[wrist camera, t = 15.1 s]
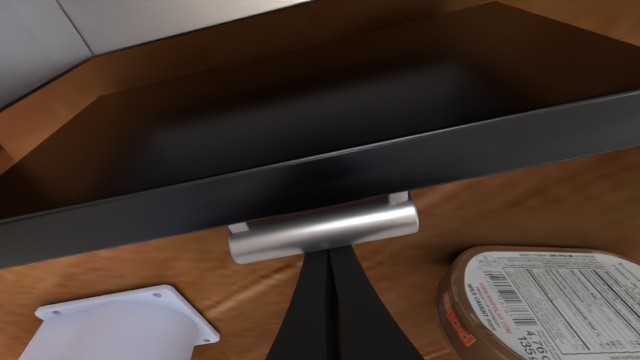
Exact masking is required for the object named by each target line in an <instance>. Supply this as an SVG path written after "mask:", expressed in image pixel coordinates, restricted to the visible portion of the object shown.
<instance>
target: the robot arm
mask: <svg viewBox="0 0 640 360" xmlns="http://www.w3.org/2000/svg"><path fill="white" fill-rule="evenodd" d="M35 315H36V316H37V317H39V318H41V319H42V320H44V321H43V323H42V324H41V326H40V327H39V329H38V331H37V332H36V334H35V335H34V337H33V338H32V340H31V341H30V343H29V344H28V346H27V347H26V349H25V350H24V352H23V353H22V355H21V356H20V358H19V359H18V360H191V356H192V352H193V348H194V346H195V345H201V344H207V343H214V342H217V341H219V338H220V335H219V333H218V332H217V331H216V330H215V329H214V328H213V327H212V326H211V325H210V324H209V323H208V322H207V321H206V320H205V319H204V318H203V317H202V316H201V315H200V314H199V313H198V312H197V311H196V310H195V309H194V308H193V307H192V306H191V305H190V304H189V303H188V302H187V301H186V300H185V299H184V298H183V297H182V296H181V295H180V294H179V293H178V292H177V291H176V290H175V289H174V288H173V287H172V286H170V285H159V286H153V287H147V288H142V289H136V290H130V291H125V292H119V293H114V294H108V295H102V296H97V297H91V298H86V299H80V300H74V301H69V302H63V303H58V304H52V305H46V306H41V307H39V308H38V309H37V310H36V312H35ZM342 344H343V347H342ZM343 356H344V357H343ZM265 360H425V359H424V358H423V357H422V355H421V354H420V353H419V352H418V350H417V349H416V348H415V346H414V345H413V344H412V343H411V341H410V340H409V339H408V338H407V336H406V335H405V334H404V332H403V331H402V330H401V328H400V327H399V325H398V324H397V323H396V321H395V320H394V319H393V317H392V316H391V314H390V313H389V311H388V310H387V308H386V307H385V305H384V304H383V302H382V301H381V299H380V298H379V296H378V295H377V293H376V291H375V290H374V288H373V286H372V285H371V283H370V281H369V280H368V278H367V276H366V274H365V272H364V270H363V269H362V267H361V265H360V263H359V261H358V259H357V257H356V255H355V253H354V250H353V248H352V246H351V245H346V246H341V247H335V248H330V249H324V250H319V251H313V252H308V253H305V257H304V261H303V265H302V268H301V272H300V275H299V278H298V282H297V285H296V288H295V291H294V293H293V296H292V299H291V302H290V305H289V307H288V310H287V312H286V315H285V317H284V320H283V322H282V325H281V327H280V329H279V331H278V334H277V336H276V338H275V340H274V342H273V344H272V346H271V348H270V351H269V353H268V355H267V357H266V359H265Z"/></svg>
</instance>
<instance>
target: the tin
mask: <svg viewBox="0 0 640 360" xmlns="http://www.w3.org/2000/svg"><path fill="white" fill-rule="evenodd" d="M434 308H435V314H436V319H437V322H438V325H439V328H440V330H441V333H442V335H443V337H444V339H445V340H446V342H447V344H448V346H449V347H450V349H451V350H452V352H453V353H454V355H455V356H456V357H457V359H458V360H640V263H639V262H637V261H634V260H632V259H629V258H627V257H624V256H621V255H618V254H615V253H611V252H608V251H604V250H597V249H585V248H558V247H530V246H501V245H482V246H476V247H472V248H470V249H467V250H465V251H464V252H462V253H461V254H460V255H459V256H458V257H457V258H456V259H455V260H454V262H453V263H452V265H451V266H450V268H449V270H448V271H447V273H446V275H445V276H444V277H443V278H442V279H441V281H440V282H439V284H438V286H437V288H436V292H435V297H434Z"/></svg>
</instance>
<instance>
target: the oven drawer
mask: <svg viewBox="0 0 640 360" xmlns="http://www.w3.org/2000/svg"><path fill="white" fill-rule="evenodd" d="M317 1H321V0H0V113H1V112H3V111H4V110H6V109H8V108H10V107H11V106H13V105H15V104H16V103H18V102H20V101H21V100H23V99H25V98H27V97H28V96H30V95H32V94H33V93H35V92H37V91H38V90H40V89H42V88H44V87H45V86H47V85H49V84H50V83H52V82H54V81H55V80H57V79H59V78H61V77H62V76H64V75H66V74H67V73H69V72H71V71H72V70H74V69H76V68H78V67H79V66H81V65H83V64H84V63H86V62H88V61H89V60H91V59H92V58H94V57H98V56H102V55H106V54H110V53H114V52H118V51H122V50H126V49H130V48H134V47H138V46H142V45H146V44H150V43H154V42H158V41H162V40H166V39H170V38H174V37H178V36H182V35H186V34H190V33H193V32H197V31H201V30H205V29H209V28H213V27H217V26H221V25H225V24H229V23H233V22H237V21H241V20H245V19H249V18H253V17H257V16H261V15H265V14H269V13H273V12H277V11H281V10H285V9H289V8H293V7H297V6H301V5H305V4H309V3H313V2H317ZM634 147H640V46H636V45H633V44H630V43H627V42H624V41H621V40H617V39H614V38H611V37H608V36H605V35H601V34H598V33H595V32H592V31H589V30H586V29H582V28H579V27H576V26H573V25H570V24H567V23H563V22H560V21H557V20H554V19H551V18H548V17H544V16H541V15H538V14H535V13H532V12H528V11H525V10H522V9H519V8H516V7H513V6H509V5H506V4H503V3H500V2H497V1H495V2H491V3H486V4H482V5H478V6H474V7H470V8H466V9H461V10H457V11H453V12H449V13H445V14H440V15H436V16H432V17H428V18H424V19H420V20H415V21H411V22H407V23H403V24H399V25H395V26H390V27H386V28H382V29H378V30H374V31H369V32H365V33H361V34H357V35H353V36H349V37H344V38H340V39H336V40H332V41H328V42H323V43H319V44H315V45H311V46H307V47H303V48H298V49H294V50H290V51H286V52H282V53H278V54H273V55H269V56H265V57H261V58H257V59H252V60H248V61H244V62H240V63H236V64H232V65H227V66H223V67H219V68H215V69H211V70H207V71H202V72H198V73H194V74H190V75H186V76H181V77H177V78H173V79H169V80H165V81H161V82H156V83H152V84H148V85H144V86H140V87H135V88H131V89H127V90H123V91H119V92H115V93H110V94H106V95H102V96H99V97H98V98H97V99H95V100H94V101H93V102H92V103H90V104H89V105H88V106H87V107H85V108H84V109H83V110H82V111H80V112H79V113H78V114H77V115H75V116H74V117H73V118H72V119H70V120H69V121H68V122H67V123H65V124H64V125H63V126H62V127H60V128H59V129H58V130H57V131H55V132H54V133H53V134H52V135H50V136H49V137H48V138H47V139H45V140H44V141H43V142H42V143H40V144H39V145H38V146H37V147H35V148H34V149H33V150H32V151H30V152H29V153H28V154H27V155H25V156H24V157H23V158H22V159H20V160H19V161H18V162H17V163H15V164H14V165H13V166H12V167H10V168H9V169H8V170H7V171H5V172H4V173H3V174H2V175H0V269H5V268H10V267H15V266H21V265H26V264H31V263H36V262H41V261H47V260H52V259H57V258H62V257H67V256H73V255H78V254H83V253H88V252H93V251H99V250H104V249H109V248H114V247H119V246H125V245H130V244H135V243H140V242H145V241H151V240H156V239H161V238H166V237H171V236H177V235H182V234H187V233H192V232H197V231H203V230H208V229H213V228H218V227H223V226H228V227H229V230H228V244H229V249H230V253H231V256H232V258H233V260H234V261H235V262H236V263H237V264H246V263H252V262H258V261H263V260H269V259H274V258H280V257H285V256H291V255H296V254H302V253H308V252H313V251H319V250H324V249H330V248H335V247H341V246H346V245H352V244H358V243H363V242H369V241H374V240H380V239H385V238H391V237H396V236H402V235H407V234H413V233H416V232H418V229H419V218H418V212H417V208H416V204H415V201H414V198H413V195H412V193H411V192H410V191H411V190H416V189H421V188H426V187H431V186H437V185H442V184H447V183H452V182H457V181H463V180H468V179H473V178H478V177H483V176H489V175H494V174H499V173H504V172H509V171H515V170H520V169H525V168H530V167H535V166H541V165H546V164H551V163H556V162H561V161H567V160H572V159H577V158H582V157H587V156H593V155H598V154H603V153H608V152H613V151H619V150H624V149H629V148H634Z"/></svg>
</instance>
